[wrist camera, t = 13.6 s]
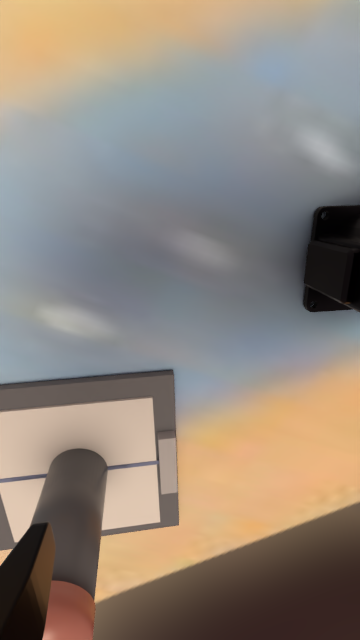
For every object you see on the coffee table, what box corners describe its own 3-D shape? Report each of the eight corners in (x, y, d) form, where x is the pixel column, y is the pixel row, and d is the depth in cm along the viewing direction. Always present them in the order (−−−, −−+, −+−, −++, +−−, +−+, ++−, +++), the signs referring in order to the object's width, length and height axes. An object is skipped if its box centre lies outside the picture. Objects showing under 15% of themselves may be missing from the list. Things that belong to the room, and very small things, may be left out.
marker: (106, 443, 22) (84, 613, 13) (111, 490, 24) (96, 675, 14) (42, 450, 22) (-27, 632, 12) (52, 498, 23) (-4, 694, 14)
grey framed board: (172, 370, 22) (175, 380, 21) (178, 518, 27) (180, 534, 26) (-49, 389, 20) (-61, 402, 19) (0, 543, 25) (-8, 561, 24)
